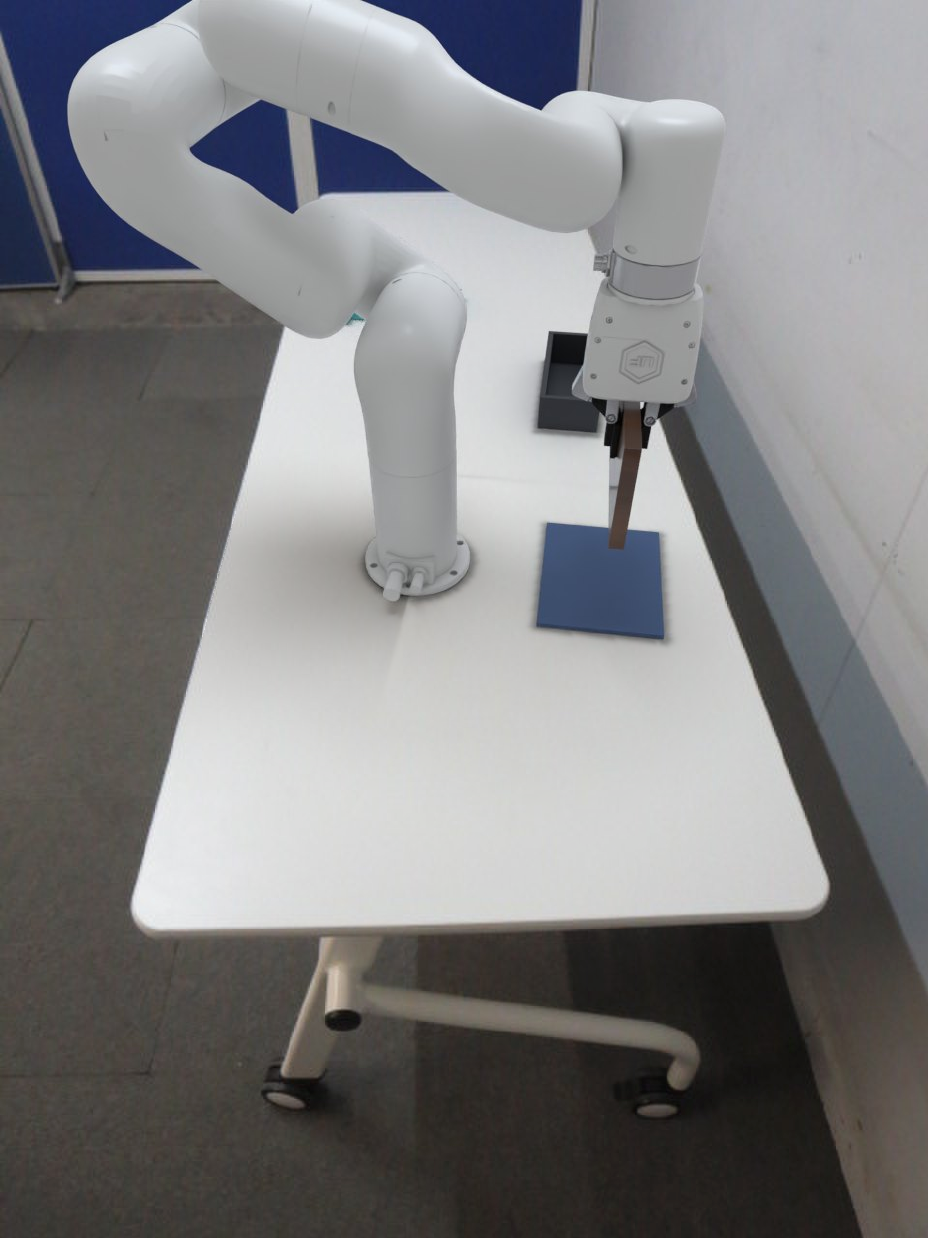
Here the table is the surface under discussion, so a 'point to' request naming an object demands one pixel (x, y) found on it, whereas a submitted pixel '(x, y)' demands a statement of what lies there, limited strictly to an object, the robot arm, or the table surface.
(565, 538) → the mat
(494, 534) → the table surface
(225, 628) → the table surface
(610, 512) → the board
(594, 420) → the bin
